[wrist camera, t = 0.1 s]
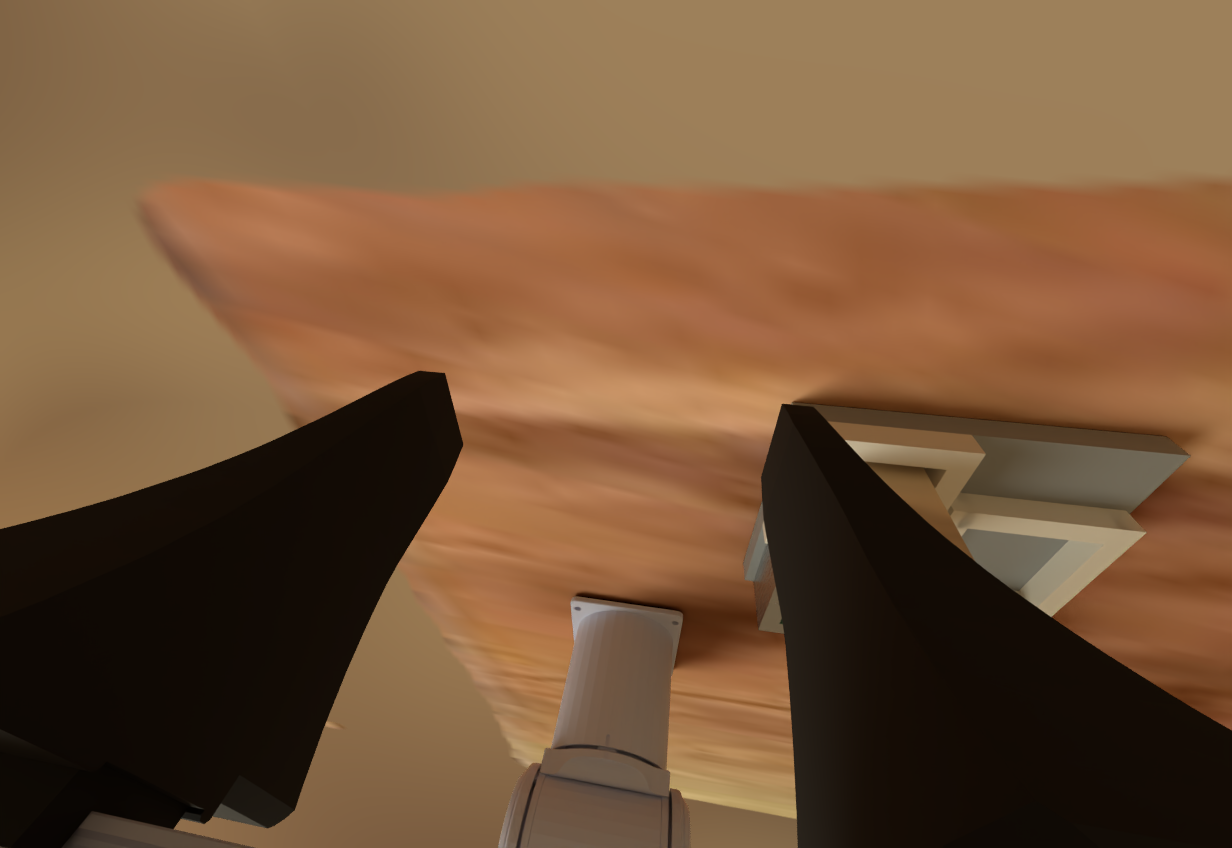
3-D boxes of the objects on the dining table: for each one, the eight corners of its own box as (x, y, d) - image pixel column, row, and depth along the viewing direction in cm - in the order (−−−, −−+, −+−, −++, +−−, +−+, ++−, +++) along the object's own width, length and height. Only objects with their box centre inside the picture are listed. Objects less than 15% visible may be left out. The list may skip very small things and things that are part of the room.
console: (841, 593, 26) (855, 644, 24) (753, 581, 27) (758, 630, 25) (872, 538, 23) (892, 590, 21) (772, 525, 24) (779, 575, 21)
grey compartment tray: (1009, 597, 26) (1032, 638, 24) (743, 562, 28) (746, 598, 26) (1166, 436, 19) (1217, 477, 17) (792, 402, 21) (801, 435, 19)
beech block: (883, 518, 22) (932, 637, 18) (799, 508, 23) (824, 622, 18) (918, 458, 20) (984, 578, 15) (822, 448, 20) (858, 561, 16)
